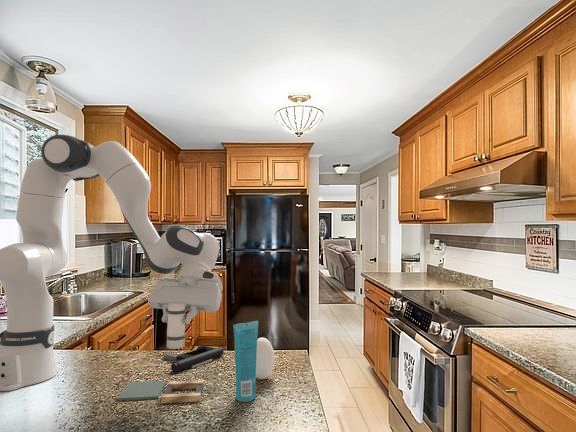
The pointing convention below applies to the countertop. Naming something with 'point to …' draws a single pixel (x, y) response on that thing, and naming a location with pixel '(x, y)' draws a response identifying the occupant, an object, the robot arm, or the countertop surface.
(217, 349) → the door handle
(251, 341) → the tube
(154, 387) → the mat
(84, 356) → the countertop surface
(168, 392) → the cradle
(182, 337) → the white cylinder
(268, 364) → the egg
